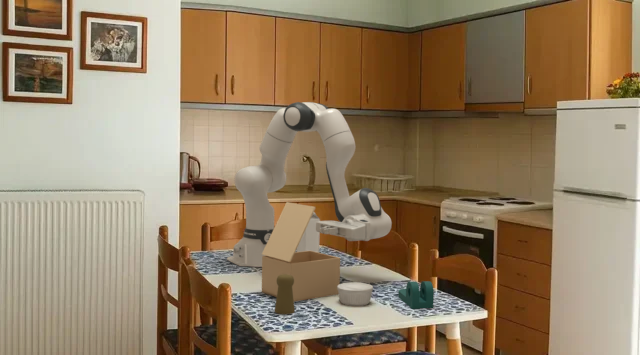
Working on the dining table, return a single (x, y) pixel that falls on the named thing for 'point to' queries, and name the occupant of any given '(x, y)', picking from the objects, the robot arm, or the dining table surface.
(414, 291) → the bracket
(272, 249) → the carton flap
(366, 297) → the ramekin
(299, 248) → the milk carton
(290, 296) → the olive pepper mill
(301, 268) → the kraft carton
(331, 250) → the dining table surface
